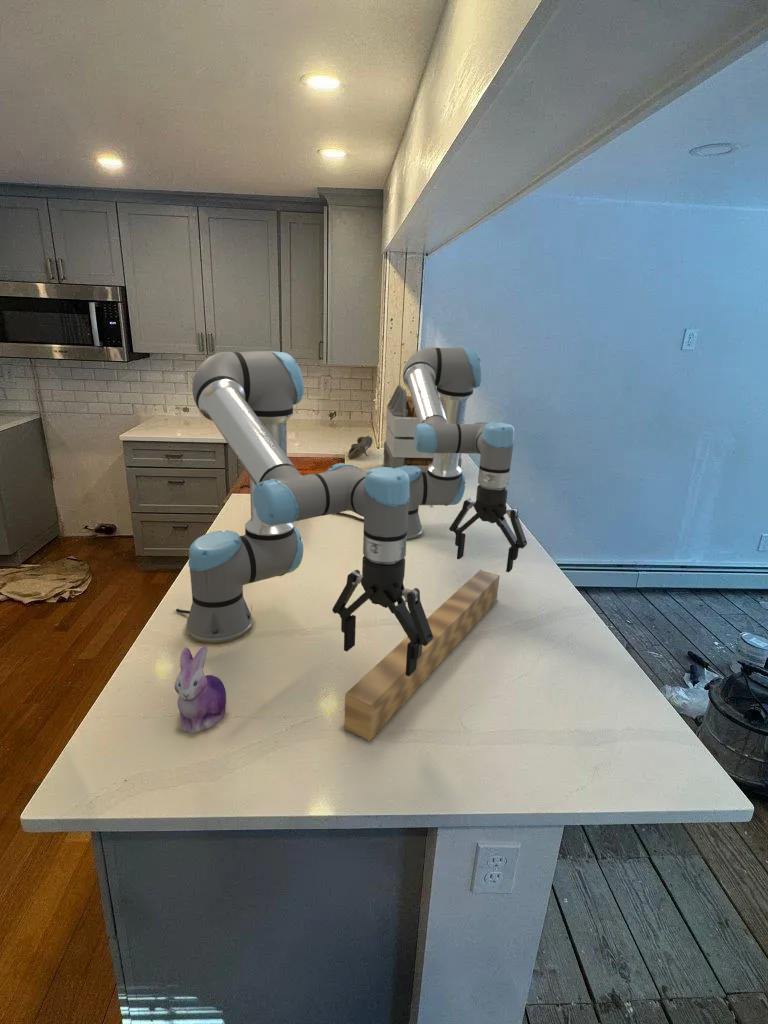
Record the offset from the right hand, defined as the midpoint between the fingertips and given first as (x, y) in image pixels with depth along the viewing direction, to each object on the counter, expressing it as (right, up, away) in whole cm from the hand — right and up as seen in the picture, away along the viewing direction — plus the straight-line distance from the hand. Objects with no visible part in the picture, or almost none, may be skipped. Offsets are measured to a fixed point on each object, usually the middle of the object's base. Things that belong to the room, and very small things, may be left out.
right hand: (484, 563), depth 148 cm
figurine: (-60, -26, -41) cm, 77 cm away
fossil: (-39, +44, +154) cm, 165 cm away
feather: (-6, +20, +93) cm, 96 cm away
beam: (-14, -19, -17) cm, 29 cm away
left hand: (-27, -14, -42) cm, 52 cm away
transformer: (-9, +32, +127) cm, 131 cm away
